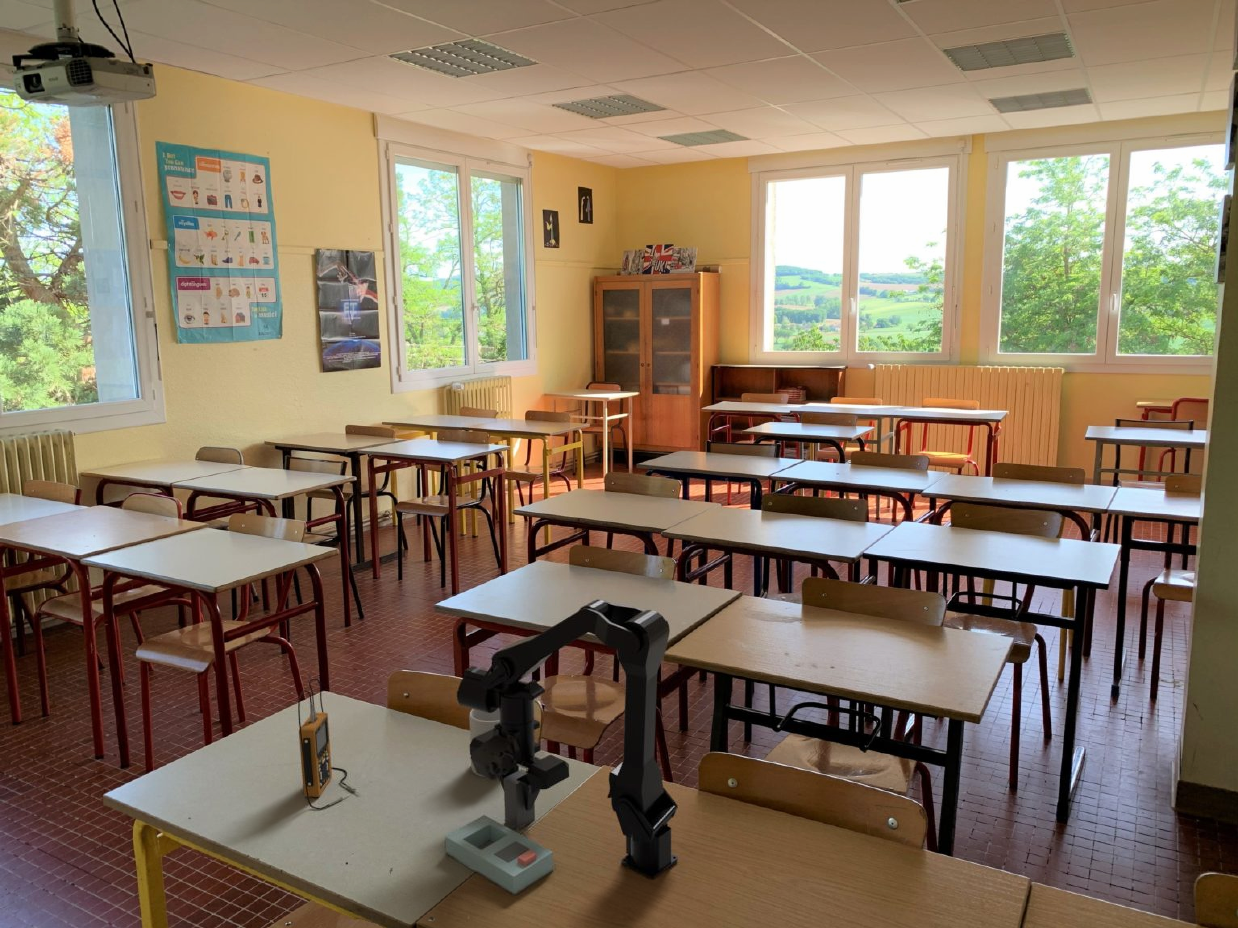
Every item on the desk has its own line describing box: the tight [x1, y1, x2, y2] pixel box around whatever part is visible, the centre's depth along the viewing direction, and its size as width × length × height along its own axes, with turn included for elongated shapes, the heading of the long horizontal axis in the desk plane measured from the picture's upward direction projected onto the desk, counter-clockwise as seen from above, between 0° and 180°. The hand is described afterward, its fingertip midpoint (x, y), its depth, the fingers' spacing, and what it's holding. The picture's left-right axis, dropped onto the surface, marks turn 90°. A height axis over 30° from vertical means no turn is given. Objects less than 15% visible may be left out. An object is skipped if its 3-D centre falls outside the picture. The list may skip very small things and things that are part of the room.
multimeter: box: [297, 678, 362, 810], centre depth 162 cm, size 15×10×20 cm
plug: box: [503, 768, 536, 830], centre depth 152 cm, size 4×3×8 cm
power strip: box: [444, 814, 554, 896], centre depth 141 cm, size 16×8×4 cm, turn 49°
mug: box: [469, 708, 500, 778], centre depth 172 cm, size 12×8×11 cm
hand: (519, 805), depth 152 cm, fingers open, 4 cm apart
